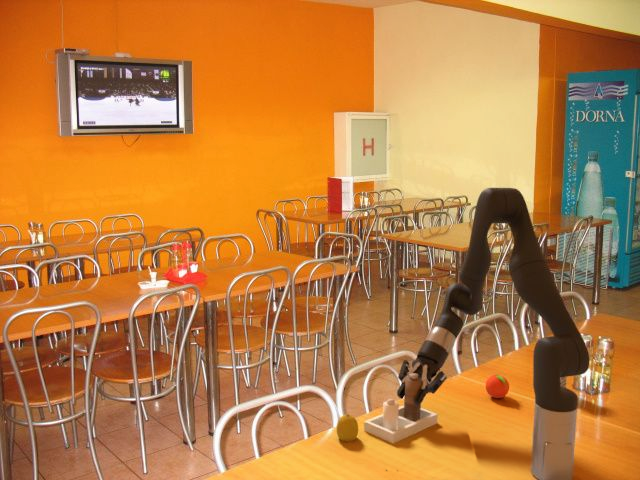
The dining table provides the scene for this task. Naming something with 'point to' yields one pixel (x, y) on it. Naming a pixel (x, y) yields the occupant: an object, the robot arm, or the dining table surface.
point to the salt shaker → (390, 415)
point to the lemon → (347, 428)
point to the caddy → (400, 425)
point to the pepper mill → (412, 397)
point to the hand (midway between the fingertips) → (407, 399)
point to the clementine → (497, 386)
